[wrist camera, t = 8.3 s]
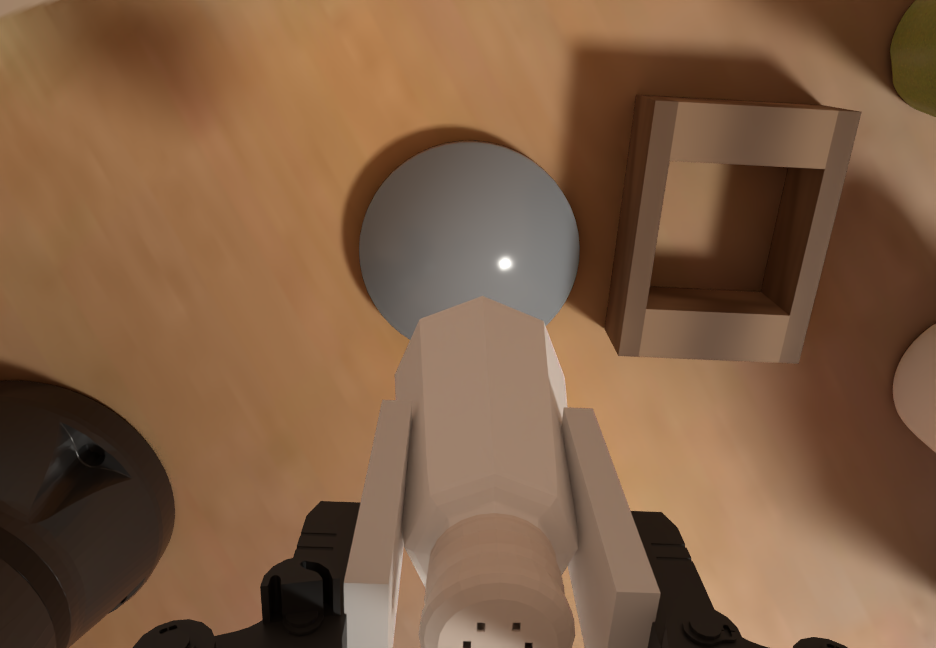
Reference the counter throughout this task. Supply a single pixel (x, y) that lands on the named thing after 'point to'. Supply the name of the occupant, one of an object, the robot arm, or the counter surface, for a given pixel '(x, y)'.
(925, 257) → the counter surface
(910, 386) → the mug
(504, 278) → the grey plate
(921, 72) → the plant pot
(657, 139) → the pocket block
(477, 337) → the salt shaker
